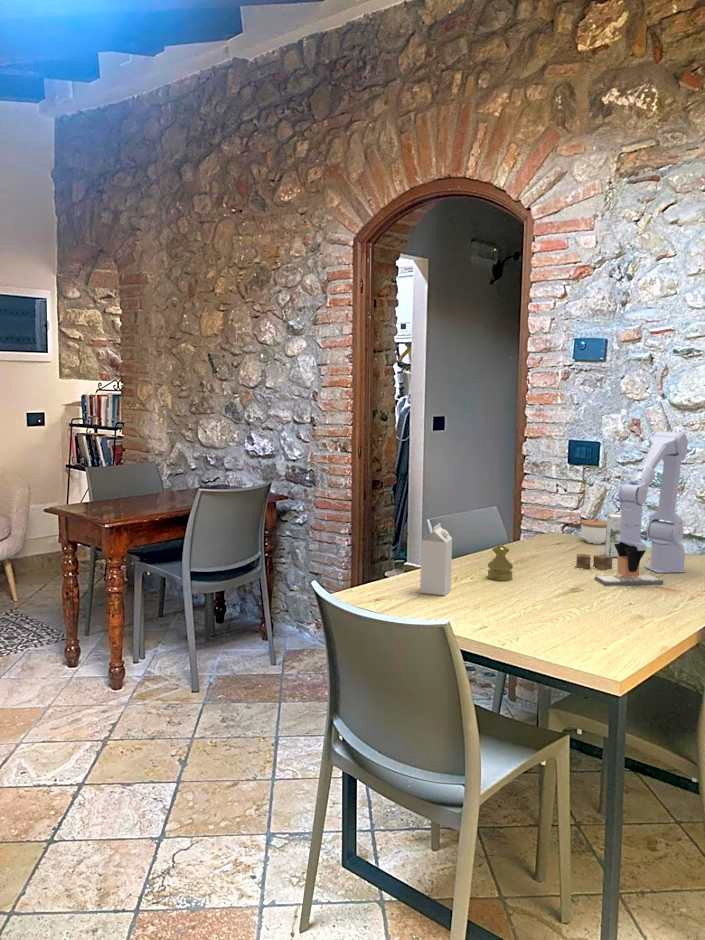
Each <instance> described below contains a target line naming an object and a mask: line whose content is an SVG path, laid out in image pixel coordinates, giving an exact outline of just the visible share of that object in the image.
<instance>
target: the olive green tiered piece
mask: <svg viewBox="0 0 705 940" xmlns="http://www.w3.org/2000/svg"><path fill="white" fill-rule="evenodd" d="M491 550H492V551H493V552H494V553H495V556H494V558H492V560H491V561H489V562H488V563H487V567H488V569H487V578H488V579H490V580H493V581H497V580H498V582H505V581H506V580H507V581H511V580H512V579H513V572H514V571H513V567H514V564H513V563H512V562H511V561H509V559H508V558H507V557H506V555H507V554H508V553H509V552H510V548H508V547H507V546H505V545H503V544H499V545H497V546H494V547H492V549H491Z"/></svg>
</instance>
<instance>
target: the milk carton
mask: <svg viewBox="0 0 705 940" xmlns="http://www.w3.org/2000/svg"><path fill="white" fill-rule="evenodd" d="M441 525H442V524H441V522H439V523H438V524H436V525H435V526H433V531H432V532H430V533H429V534H428V535H427V536H425V537H424V538H422V540H421V541H420V542H421V543H420V581H419V582H420V585H419V588H420V589H419V592H420V594H428V595H434V596H436V595H437V596H446V595H447V594H448V593H449V592H450V591H451V589H452V561H453V560H452V558H453V557H452V555H453V548H452V547H453V537H452V536H451V535H450V534H449V532H448V531H447V530H446V529H444V528H443V527H441Z"/></svg>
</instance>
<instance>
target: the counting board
mask: <svg viewBox="0 0 705 940" xmlns="http://www.w3.org/2000/svg"><path fill="white" fill-rule="evenodd" d="M596 580H597V581H596ZM594 581H596V582H598V581H599V582H598V583H600V582H601V583H602V584H601V583H600V584H601V585H603V584H604V585H603V586H605V587H607V585H620V586H651V585H652V586H654V585H657V586H658V585H664V583H665V582H664V580H662V579H660V578H659V577H656V576H654V575H652V574H645V575H642V574H641V575H640V574H639V576H623V575H607V576H606V575H604V576H603V575H599V576H594Z"/></svg>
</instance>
